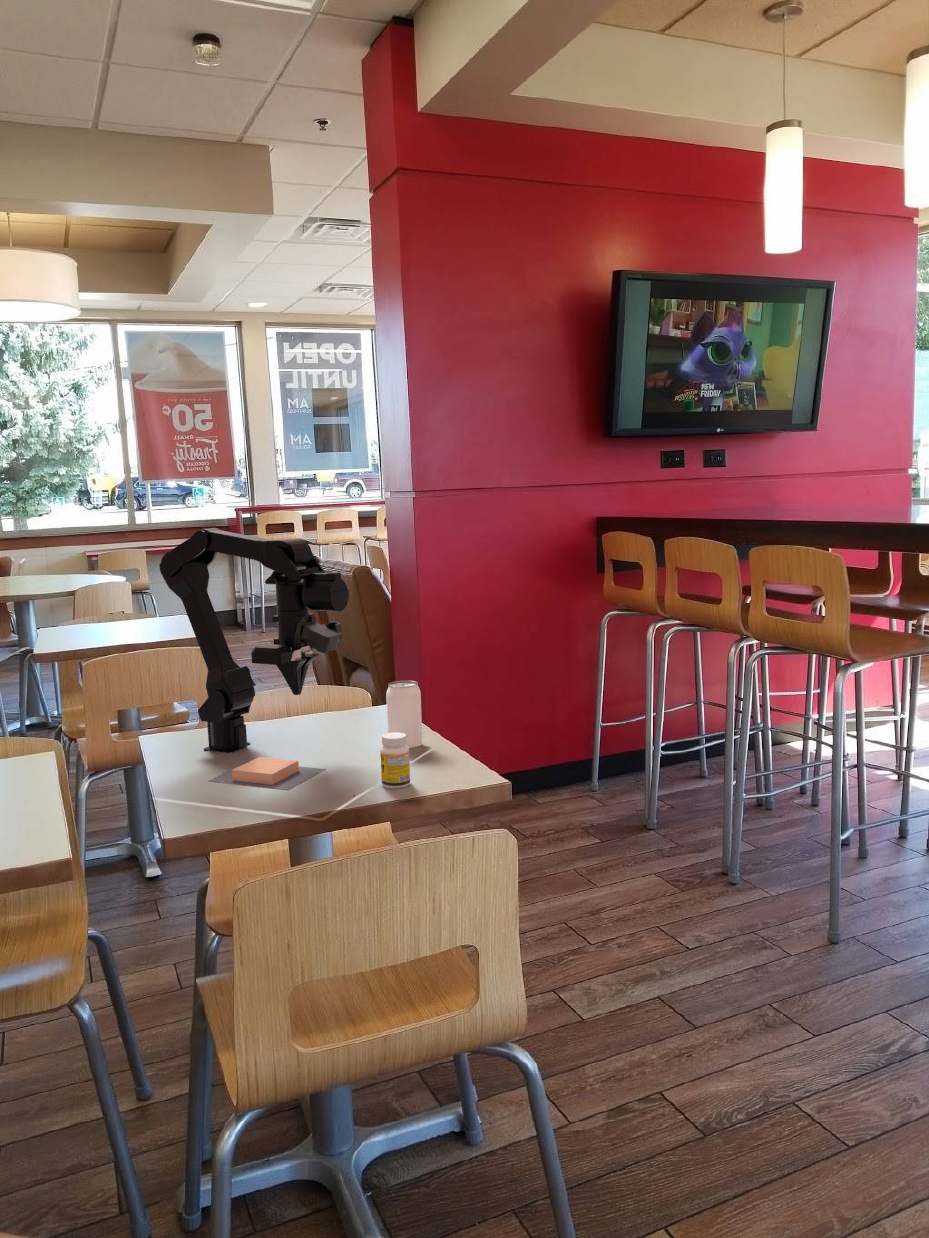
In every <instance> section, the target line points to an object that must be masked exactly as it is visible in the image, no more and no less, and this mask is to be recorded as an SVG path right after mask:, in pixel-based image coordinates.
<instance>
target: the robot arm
mask: <svg viewBox="0 0 929 1238" xmlns="http://www.w3.org/2000/svg"><path fill="white" fill-rule="evenodd" d="M218 553H220V554H225V555H229V556H234V557H238V558H243V559H248V560H253V561H256V562H258V563H260V564H261V565H262V566H263V567H264V568H267V569H269V570H271V571H272V573H271V574H270V576H268V577H267V578H266V579H265V581H264V583H265V585H275V597H276V601H275V602H276V615H273V616H271V621H272V623H277V635H278V636H277V637H275V638H273V644H270V643H267V644H262V645H259V646H255V647H254V648H253V649H252V651H251V652H250V655H251V663H252V664H254V665H255V664H256V665H258V664H260V665H274V666H276V667H277V668H278V670H279V672H280V673H281V674H282V676H283V678H284V680H285V682H286V683H287V685H288V687H289V689H290V691H291V692H292V694H293V695H294V696H300V695H301V694H302V691H303V688H304V684H305V680H306V676H307V673H308V669H309V666H310V664H311V663H313V661H314V660H315V659H317V658H319V656H320V654H319V653H321V654H327V653H329V652H331V651H336V649H337V646H338V644H339V643H338V642H340V641H342V640H344V636H343V635H342V634H343V630H342V624H341V623H340V622H338V621H330V622H328V623H327V624H325V623H323V624H320V623H318V622H317V618H316V617H317V616H316V615H315V613H310V610H311V611H322V612H323V611H324V612H342V611H343V610H345V609H346V608H347V605H348V602H349V597H350V591H349V588H348V587H347V586H348V585H347V584H346V582H345V581H344V580H343V579H342V573H341V572H340V571H339V572H338V571H335V572H333V571H332V572H326V571H325V569H323V567H322V566H321V564H320V562H319V561H318V560H317V558H316V557H315V555H314V553H313V551H312V548H311V546H310V545H309V542H308V541H306V539H304V538H298V537H297V538H272V539H266V538H263V537H257V536H252V535H248V534H247V535H246V534H242V533H236V532H231V531H226V530H221V529H219V528H217V527H213V528H200V529H198V530H197V531H196V532H194V534H192V535H191V537H190V538H188V539H186V540H185V541H183V542H182V543H180V544H178V545H176V546H175V547H174V548H173V549H172V550H170V551H168V552H166V553H164V555H163V556H162V558H161V561H160V563H159V571H160V574H161V576H162V578H163V580H164V582H165V584H166V585H167V587H168V589H170V591H171V592H173V593H174V594H175V595H176V596H177V597H178V598H179V599H180V600H181V602H182V605H183V607H184V610H185V612H186V615H187V617H188V621H189V622H190V625H191V628H192V630H193V633H194V635H195V640H196V642H197V643H198V646H199V649H200V653H201V654H202V658H203V660H204V663H205V665H206V668H207V676H206V683H205V689H206V693H207V699H206V700H205V701H204V702H203V704H202V705H201V706H200V707H199V708H198V710H197V713H198V716H199V720H200V721H201V722H205V723H207V724H206V725H207V737H208V738H207V739H208V741H207V742H208V746H206V747H204V748H203V752H208V751H209V752H217V753H227V754H229V753H234V752H236V751H238V750H241V749H243V748H246V747H248V746H250V745H251V742H249V741H248V736H247V735H248V734H247V725H246V724H245V716H244V715H246V714H249V713H250V711H251V710H250V709H251V706H252V702H253V701H254V698H255V697H256V690H255V687H256V686H257V685H256V682H254V680H253V678H252V675H251V671H250V668H249V667H248V666H247V665H246V666H240V665H239V664H237V662H235V661H234V659H233V658H234V657H233V656H232V653H231V651H230V648H229V645H228V643H227V639H226V638H225V635H224V633H223V629H222V628H221V627H222V626H221V624H220V621H219V619H218V617H217V614H216V611H215V608H214V606H213V604H212V600H211V598H210V595H209V592H208V588H209V581H210V573H209V566H210V565H211V564H212V563H213V562H214V561H215V560H216V557H217V554H218ZM312 649H315V650H316V652H318V653H313V650H312Z"/></svg>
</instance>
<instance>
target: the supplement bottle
mask: <svg viewBox="0 0 929 1238" xmlns="http://www.w3.org/2000/svg"><path fill="white" fill-rule="evenodd" d="M406 743H407V740H406V734H404V733H399V732H392V733H388V732H387V733H384V734H382V736H381V745H382V746H381V747H380V769H381V771H380V772H381V774H380V775H381V785H382V787H384V788H385V789H391V790H392V789H393V790H395V789H403V788H407V787H409V786H410V784H411V768H410V767H411V766H410V748H408V746H407V745H405V744H406Z"/></svg>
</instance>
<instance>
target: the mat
mask: <svg viewBox="0 0 929 1238" xmlns="http://www.w3.org/2000/svg"><path fill="white" fill-rule="evenodd" d="M250 761H251V760H250ZM250 761H247V762H245V763H244V764H246V763H248V762H250ZM239 766H240V765H238V766H237V767H239ZM237 767H234V768H232V769H230V770H228V771H226V772H223V773H221V774H219V775H217V776H215V777H213V778H211V779H209V780H208V782H212V783H219V784H220V783H221V784H228V785H234V786H235V785H236V786H247V787H256V788H265V789H272V790H281V791H290V790H292V789H294V788H295V787H297V786H299V785H301V784H303V783H304V782H306V781H308V780H309V779H312V778H313V777H315V776H317V775H319V774H320V773H322V772H323V773H324V772H325V771H326V770H327V768H319V767H311V766H310V767H309V766H300V765H299V771H298V772H296V773H294V774H292V775H290V776H288V777H286V778H285V779H283V780H281V781H279V782H277V783H275V784H273V785H270V784H261V783H252V782H243V781H234V780H232V770H233V769H235V768H237Z"/></svg>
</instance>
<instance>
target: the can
mask: <svg viewBox="0 0 929 1238" xmlns="http://www.w3.org/2000/svg"><path fill="white" fill-rule="evenodd" d="M418 684H419V682H417V681H414V680H397V681H392V682H390V683H388V688H387V690H386V692H385V693H386V696H385V698H386V718H387V719H386V720H387V733H392V732H399V733H404V734H406V740H407V743H406V744H405V745H407V746H408V748H409V749H411V748H417V747H420V746H422V744H423V727H422V726H423V724H422V722H423V721H422V694H421V690H420V687H419V685H418Z"/></svg>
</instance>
